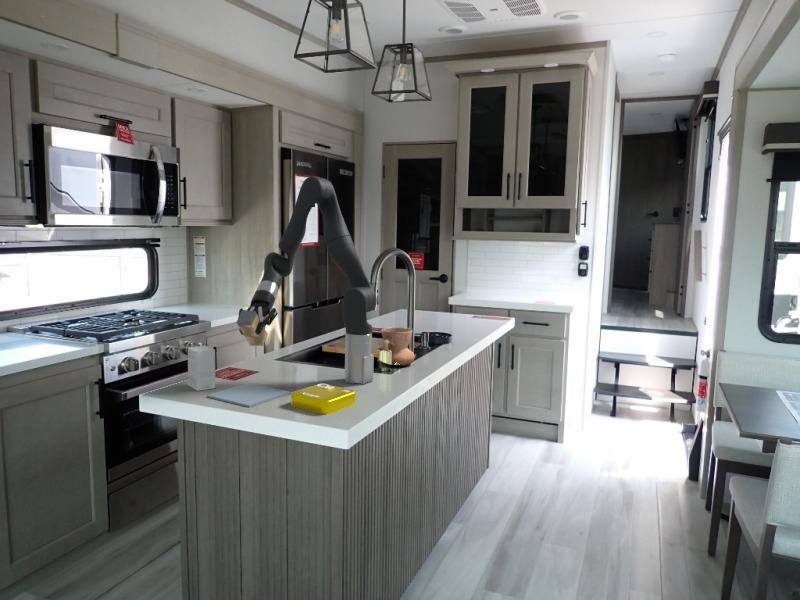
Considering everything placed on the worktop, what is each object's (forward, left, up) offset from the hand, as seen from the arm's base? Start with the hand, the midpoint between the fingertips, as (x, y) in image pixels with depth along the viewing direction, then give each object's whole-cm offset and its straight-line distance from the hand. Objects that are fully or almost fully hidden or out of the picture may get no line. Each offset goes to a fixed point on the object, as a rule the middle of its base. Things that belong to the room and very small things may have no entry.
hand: (249, 333), depth 196 cm
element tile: (-32, +2, -19) cm, 37 cm away
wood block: (+1, -6, -3) cm, 7 cm away
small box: (+11, +10, -18) cm, 24 cm away
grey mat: (-8, +8, -18) cm, 21 cm away
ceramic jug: (-24, -57, -18) cm, 64 cm away
